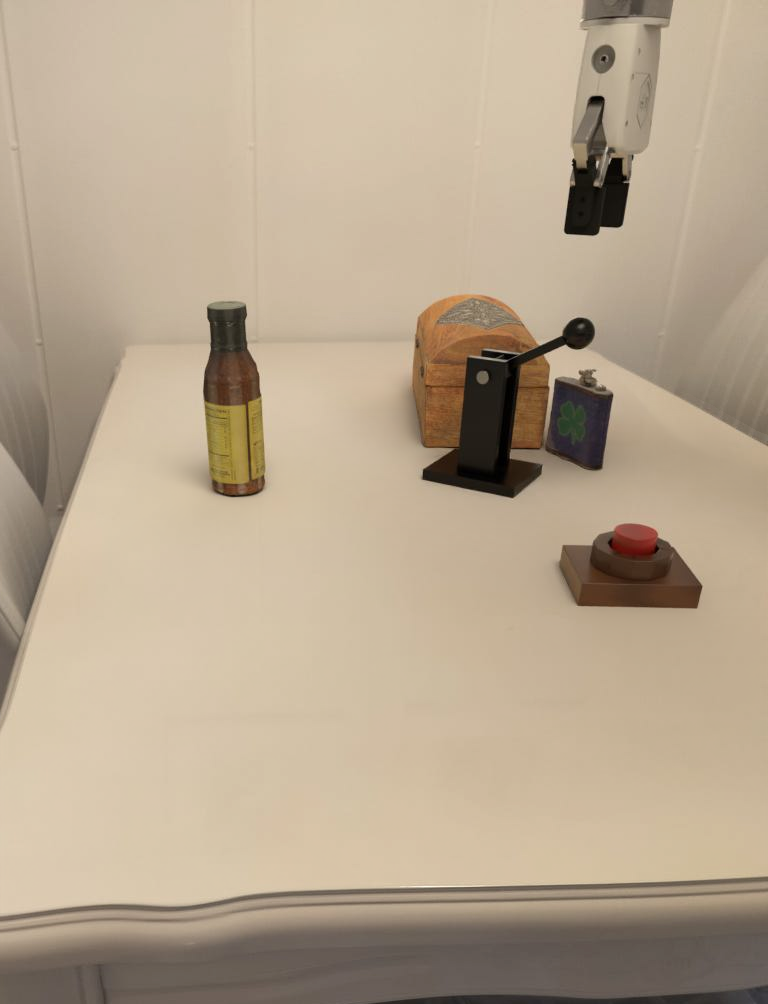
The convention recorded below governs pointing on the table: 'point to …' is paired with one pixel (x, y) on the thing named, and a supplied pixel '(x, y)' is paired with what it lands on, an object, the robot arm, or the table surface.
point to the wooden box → (442, 367)
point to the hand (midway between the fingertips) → (593, 229)
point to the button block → (628, 576)
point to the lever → (558, 342)
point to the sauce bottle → (233, 404)
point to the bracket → (486, 432)
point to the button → (634, 539)
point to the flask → (579, 420)
